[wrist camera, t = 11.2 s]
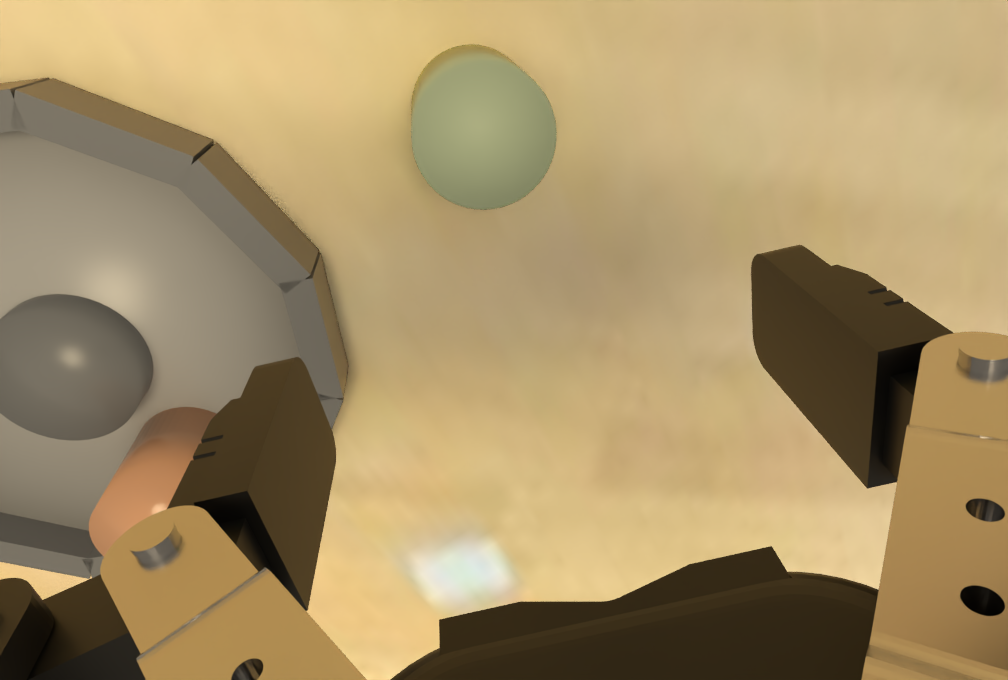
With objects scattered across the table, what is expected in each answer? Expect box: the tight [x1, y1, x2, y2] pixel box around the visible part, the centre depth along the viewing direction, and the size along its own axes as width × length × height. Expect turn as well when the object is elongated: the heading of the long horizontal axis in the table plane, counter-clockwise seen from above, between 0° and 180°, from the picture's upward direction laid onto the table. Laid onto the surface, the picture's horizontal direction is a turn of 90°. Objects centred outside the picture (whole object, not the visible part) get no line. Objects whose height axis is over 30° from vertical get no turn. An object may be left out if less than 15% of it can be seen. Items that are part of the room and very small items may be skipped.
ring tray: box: [0, 78, 348, 579], centre depth 26 cm, size 20×20×2 cm
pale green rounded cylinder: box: [411, 45, 556, 210], centre depth 23 cm, size 4×4×5 cm
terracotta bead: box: [89, 407, 216, 556], centre depth 27 cm, size 4×4×5 cm
